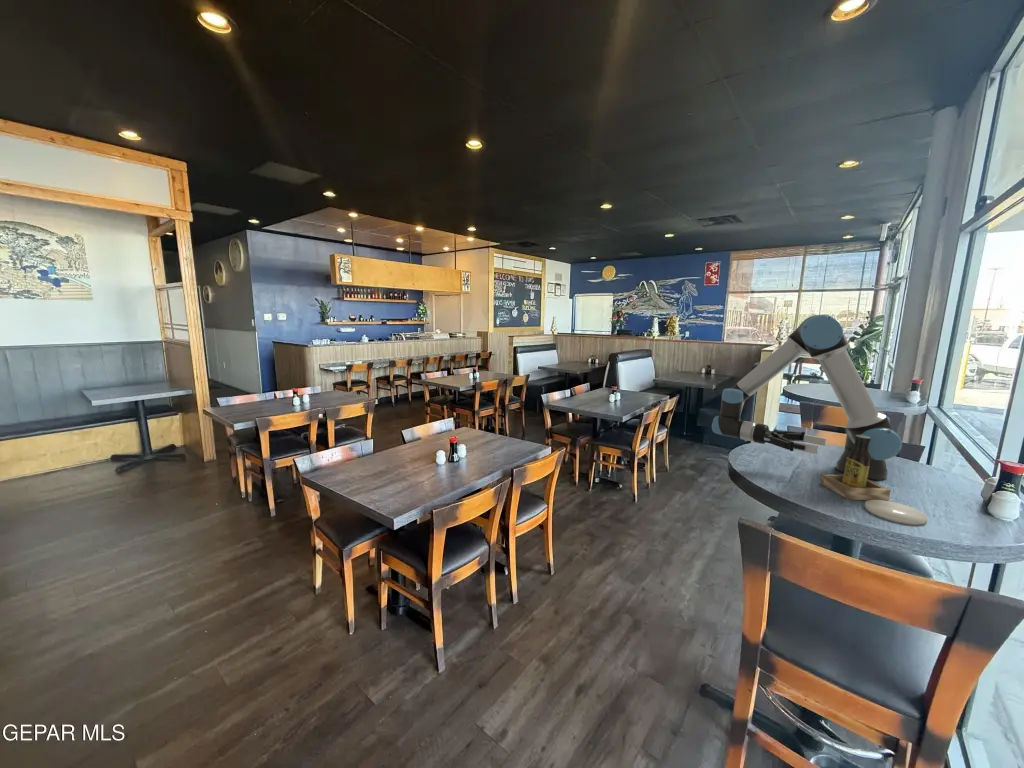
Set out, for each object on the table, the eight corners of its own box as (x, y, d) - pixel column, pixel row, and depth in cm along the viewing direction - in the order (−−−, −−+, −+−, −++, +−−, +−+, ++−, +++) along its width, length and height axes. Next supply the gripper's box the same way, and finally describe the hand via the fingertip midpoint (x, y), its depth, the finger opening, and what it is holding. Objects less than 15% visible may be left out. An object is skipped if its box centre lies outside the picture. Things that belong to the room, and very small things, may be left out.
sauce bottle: (836, 487, 144) (844, 433, 141) (852, 487, 145) (861, 432, 142) (853, 495, 138) (861, 438, 135) (870, 495, 138) (879, 438, 135)
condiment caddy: (856, 484, 148) (858, 474, 147) (888, 500, 135) (890, 490, 134) (820, 483, 148) (821, 474, 147) (848, 499, 135) (850, 489, 134)
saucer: (897, 503, 132) (897, 500, 132) (941, 525, 119) (941, 521, 118) (853, 502, 133) (853, 499, 132) (891, 524, 119) (892, 520, 119)
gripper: (763, 435, 170) (826, 448, 155) (743, 448, 153) (811, 464, 138) (765, 418, 169) (829, 429, 154) (745, 428, 152) (815, 442, 137)
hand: (821, 445), depth 146 cm, fingers open, 13 cm apart
